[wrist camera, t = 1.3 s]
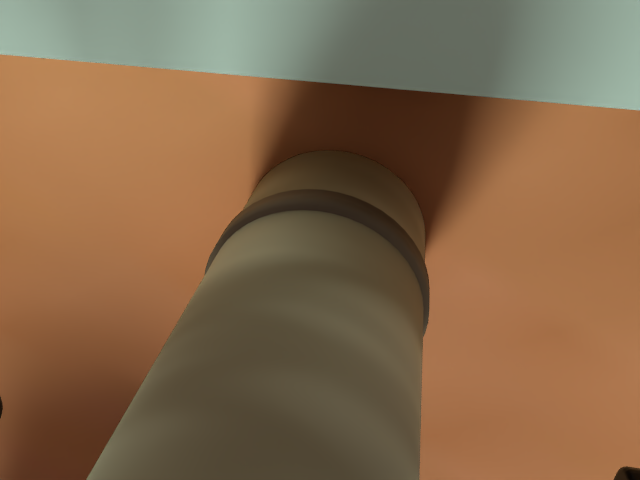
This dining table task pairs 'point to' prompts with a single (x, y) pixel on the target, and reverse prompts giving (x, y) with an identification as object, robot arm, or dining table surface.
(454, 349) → the dining table surface
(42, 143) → the dining table surface
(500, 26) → the board
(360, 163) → the peg
